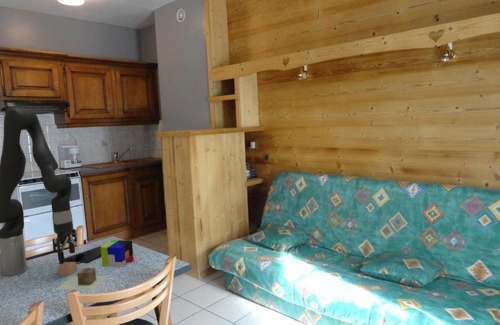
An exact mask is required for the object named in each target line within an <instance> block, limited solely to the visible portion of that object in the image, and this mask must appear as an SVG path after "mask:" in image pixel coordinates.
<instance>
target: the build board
mask: <svg viewBox="0 0 500 325" xmlns="http://www.w3.org/2000/svg"><path fill="white" fill-rule="evenodd" d="M107 278H108V275H96V280H95V281H94V282H93V283H92V284H91V285H78V277H77V275H72V276H71V275H70V277H69V278H67V279H66V280H65V281H64V282H63V283H61V284H60V285H59V286H58V287H56V288H55V290H58V291H59V290H96V288H98V287H99V286H100V284H101V283H103V281H104V280H106V279H107Z"/></svg>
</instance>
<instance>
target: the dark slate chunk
mask: <svg viewBox="0 0 500 325" xmlns="http://www.w3.org/2000/svg"><path fill="white" fill-rule="evenodd" d="M101 247H102V246H101V245H99V246H97V247H94V248H91V249H88V250H85V251H81V252H79V253H75V254H72V255H69V256H67V257H64V260H63V261H59V260H58V263H57V264H58V265H61V264H63V263H64V262H76V265H80V264H88V263H90V262H92V261H93V260H96V259H98V258H100V257H101Z"/></svg>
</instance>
